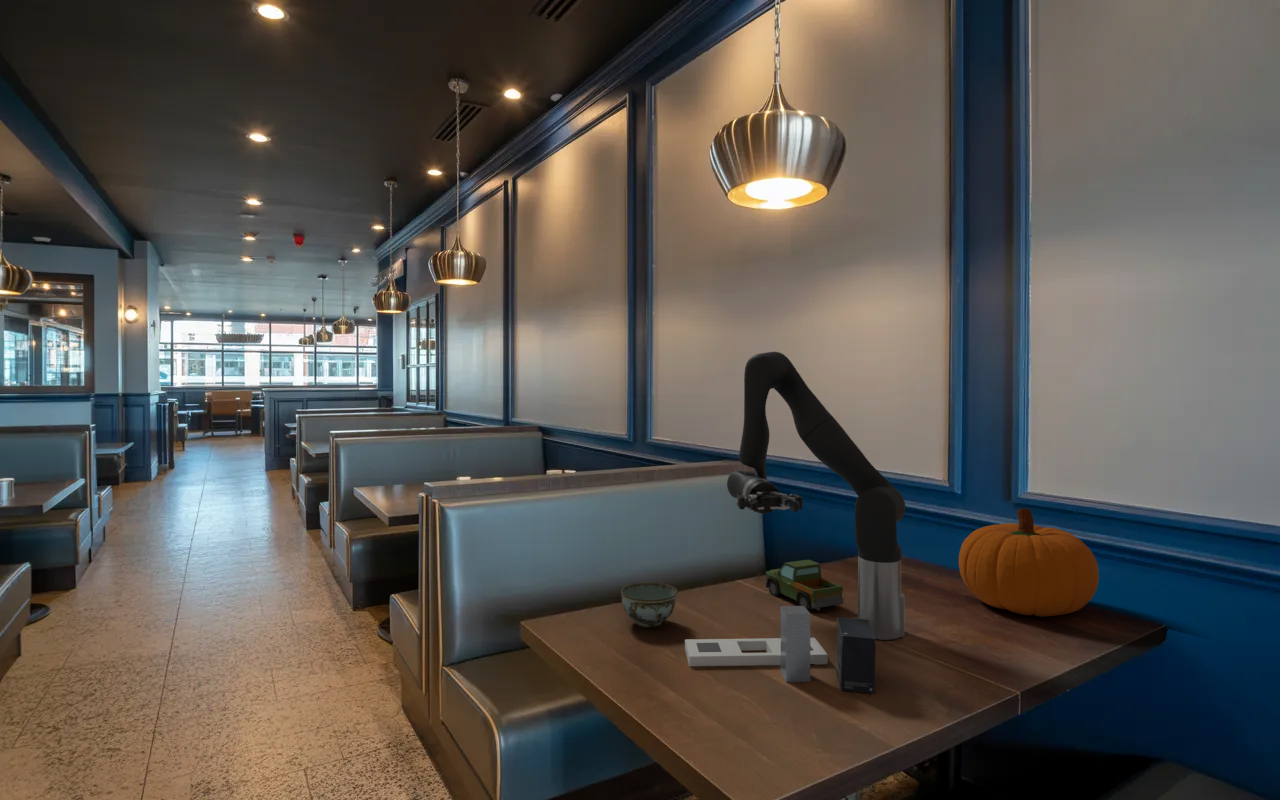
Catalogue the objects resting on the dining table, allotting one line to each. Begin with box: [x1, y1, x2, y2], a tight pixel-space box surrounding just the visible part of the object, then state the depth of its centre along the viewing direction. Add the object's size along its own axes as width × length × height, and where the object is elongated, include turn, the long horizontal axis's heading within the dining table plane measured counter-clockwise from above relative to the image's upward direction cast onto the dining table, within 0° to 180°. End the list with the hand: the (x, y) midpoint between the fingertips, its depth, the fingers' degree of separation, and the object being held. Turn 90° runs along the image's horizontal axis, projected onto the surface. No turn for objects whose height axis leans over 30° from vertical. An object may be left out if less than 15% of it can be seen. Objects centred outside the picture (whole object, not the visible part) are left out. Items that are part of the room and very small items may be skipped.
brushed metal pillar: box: [780, 605, 811, 683], centre depth 130 cm, size 5×5×13 cm
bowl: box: [620, 581, 679, 629], centre depth 159 cm, size 14×13×8 cm
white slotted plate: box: [684, 637, 829, 667], centre depth 140 cm, size 28×9×2 cm, turn 92°
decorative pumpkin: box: [958, 507, 1100, 618], centre depth 171 cm, size 31×30×25 cm
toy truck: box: [765, 559, 844, 612], centre depth 176 cm, size 11×21×10 cm, turn 24°
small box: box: [835, 616, 877, 694], centre depth 128 cm, size 11×6×10 cm, turn 168°
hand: (776, 507), depth 145 cm, fingers open, 8 cm apart
